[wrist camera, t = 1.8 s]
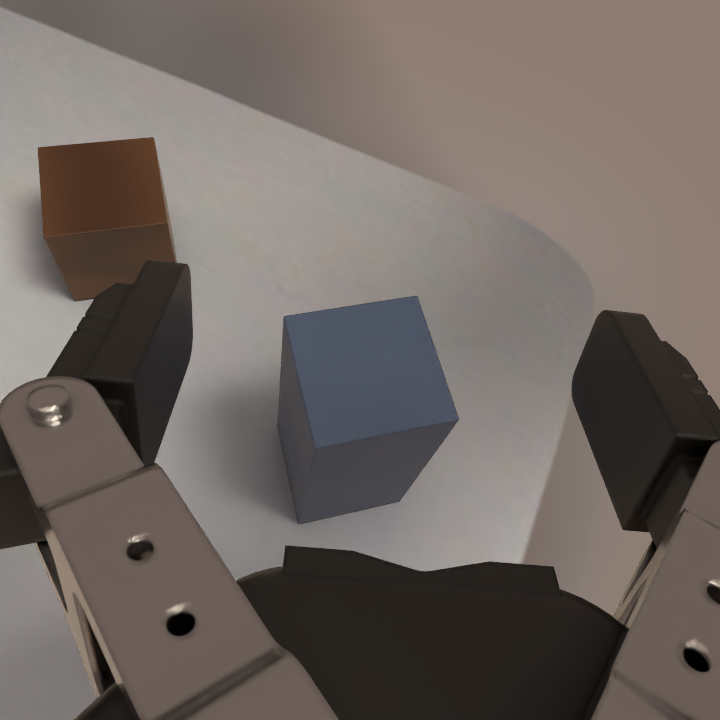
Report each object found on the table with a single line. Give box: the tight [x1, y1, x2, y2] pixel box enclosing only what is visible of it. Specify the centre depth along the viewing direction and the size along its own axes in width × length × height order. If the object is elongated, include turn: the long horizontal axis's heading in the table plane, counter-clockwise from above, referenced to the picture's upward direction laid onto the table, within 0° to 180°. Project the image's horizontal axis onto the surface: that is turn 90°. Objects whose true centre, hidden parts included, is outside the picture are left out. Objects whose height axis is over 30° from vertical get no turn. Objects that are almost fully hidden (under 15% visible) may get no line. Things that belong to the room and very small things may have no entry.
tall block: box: [278, 296, 459, 524], centre depth 25 cm, size 5×5×10 cm
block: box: [38, 137, 177, 301], centre depth 31 cm, size 5×5×5 cm
